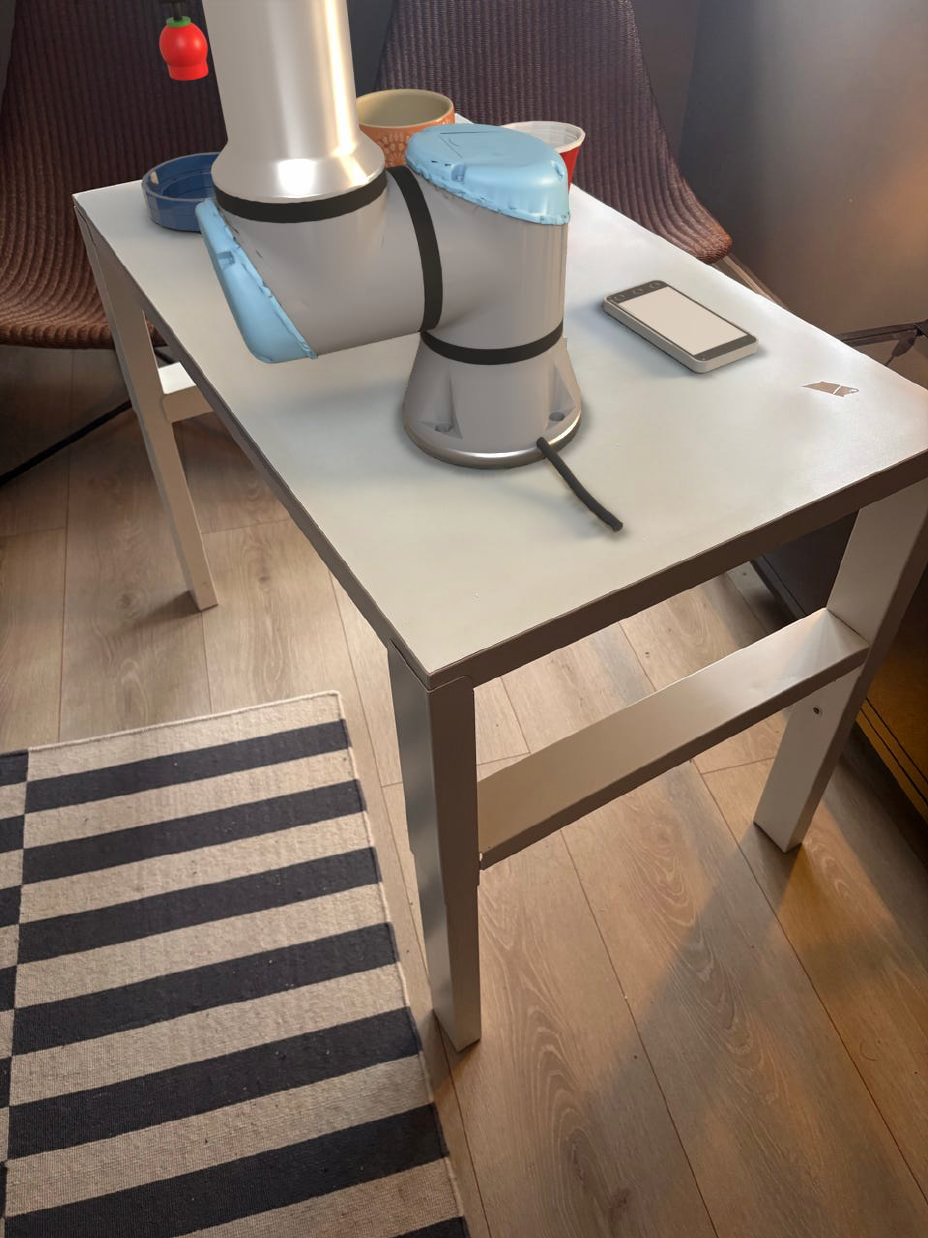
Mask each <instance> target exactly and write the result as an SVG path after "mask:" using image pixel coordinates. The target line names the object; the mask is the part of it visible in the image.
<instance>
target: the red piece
mask: <svg viewBox="0 0 928 1238" xmlns="http://www.w3.org/2000/svg"><path fill="white" fill-rule="evenodd" d="M169 4H170V9H171V15H172V16H171V17H169V18H167V19H166V20H165V22H166V23H165V24H166V25H165V26H164V28H163V29H162V31H161V33H160V36H159V41H158V43H159V51H160V54H161V57H162V58H163V60H164V61H165V63H166V64H167V69H168V74H169V77H170V78H171V79H172V80H174V81H175V80H176V81H193V80H199V79H201V78H204V77H206V76H207V75H208V74H209V67H208V63H207V57H208V54H209V53H208V50H209V49H208V43H207V39H206V37H205V35H204V32H203V31H202V30H201V29H200V27H198V26H197V25H196V24H195V23H194V22H191V18H190V17H189V16H187V15H186V16H185V15H182V10H181V5H180V3H169Z"/></svg>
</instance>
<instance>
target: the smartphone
mask: <svg viewBox="0 0 928 1238" xmlns="http://www.w3.org/2000/svg"><path fill="white" fill-rule="evenodd" d="M603 311H604V312H606V313H607V314H608V315H610V316H611V317H613V318H614V319H616V320H617V321H619V322H620V323H622V324H623V325H625V326H626V327H628V328H629V329H631V330H632V331H633V332H635V333H637V334H638V335H640V336H641V337H643V338H644V339H646V340H647V341H648V342H650V343H652V344H653V345H654V346H655V347H657V348H658V349H660V350H662V351H663V352H665V353H666V354H667V355H669V356H671V357H672V358H674V359H675V360H677V361H678V362H680V364H683V365H684V366H686V367H687V368H688V369H690V370H691V371H693V372H695V373H701V374H703V373H708V372H710V371H713V370H715V369H717V368H720V367H723V366H725V365H728V364H731V363H733V362H737V361H738V360H741V359H743V358H746V357H749V356H751V355H754V354H755V353H757V351H758V346H759V337H757V336H756V335H755V334H753V333H752V332H751V331H748V330H747V329H745V328H743V327H742V326H740V325H738V324H737V323H735V322H733V321H732V320H730V319H728V318H727V317H725V316H723V315H722V314H720V313H719V312H717V311H716V310H713V309H712V308H711V307H708V306H707V305H705V304H704V303H702V302H700V301H699V300H697V299H695V298H694V297H692V296H690V295H689V294H687V293H686V292H684V291H682V290H681V289H679V288H678V287H676V286H674V285H672V284H671V283H669V282H667V281H665V280H663V279H658V278H656V279H651V280H648V281H645V282H643V283H640V284H635V285H634V286H631V287H628V288H624V289H622V290H618V291H615V292H612V293H610V294H607V295H604V298H603Z"/></svg>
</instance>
